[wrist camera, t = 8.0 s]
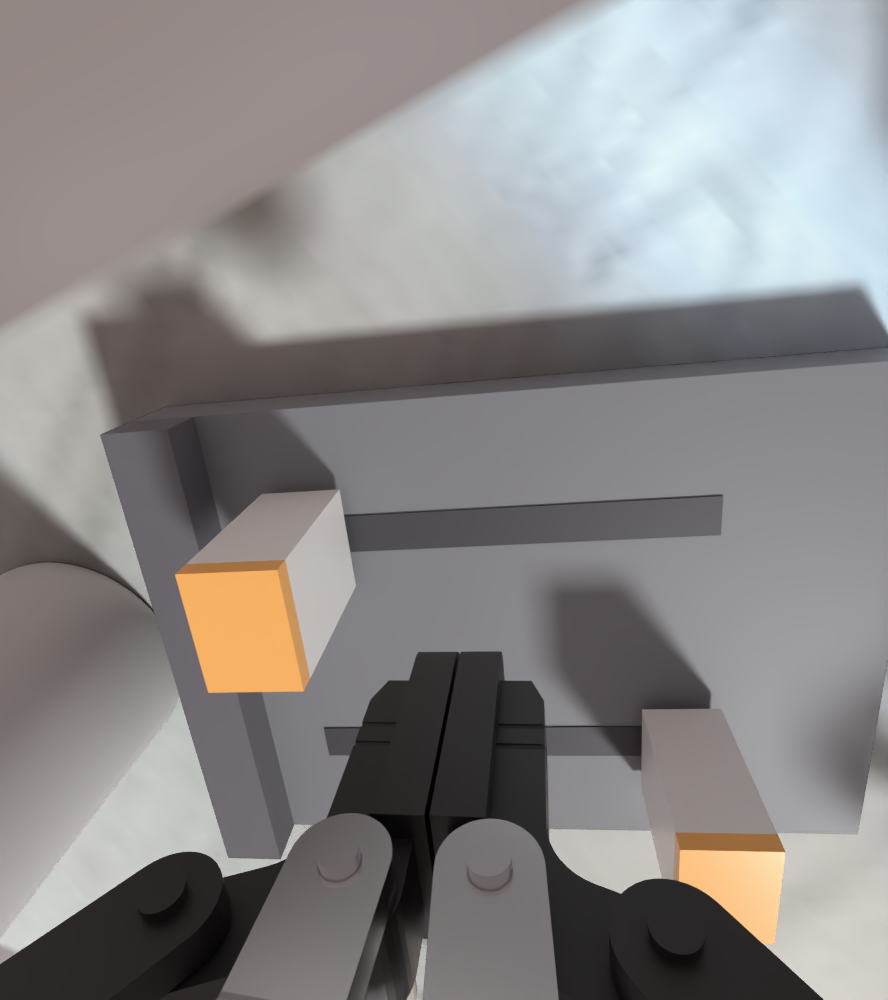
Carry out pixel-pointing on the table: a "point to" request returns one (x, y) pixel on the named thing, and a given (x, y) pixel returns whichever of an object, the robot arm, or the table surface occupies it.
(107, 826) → the table surface
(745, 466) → the console
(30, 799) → the mug
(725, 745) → the fader far
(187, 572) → the fader near
